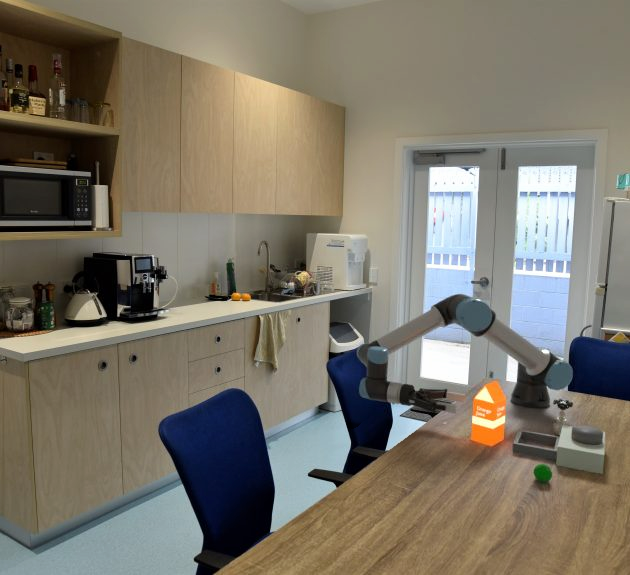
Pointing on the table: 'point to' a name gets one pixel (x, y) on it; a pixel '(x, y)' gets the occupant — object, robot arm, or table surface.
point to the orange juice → (489, 415)
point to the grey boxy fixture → (567, 447)
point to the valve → (561, 414)
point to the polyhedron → (542, 473)
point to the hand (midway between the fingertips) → (460, 403)
